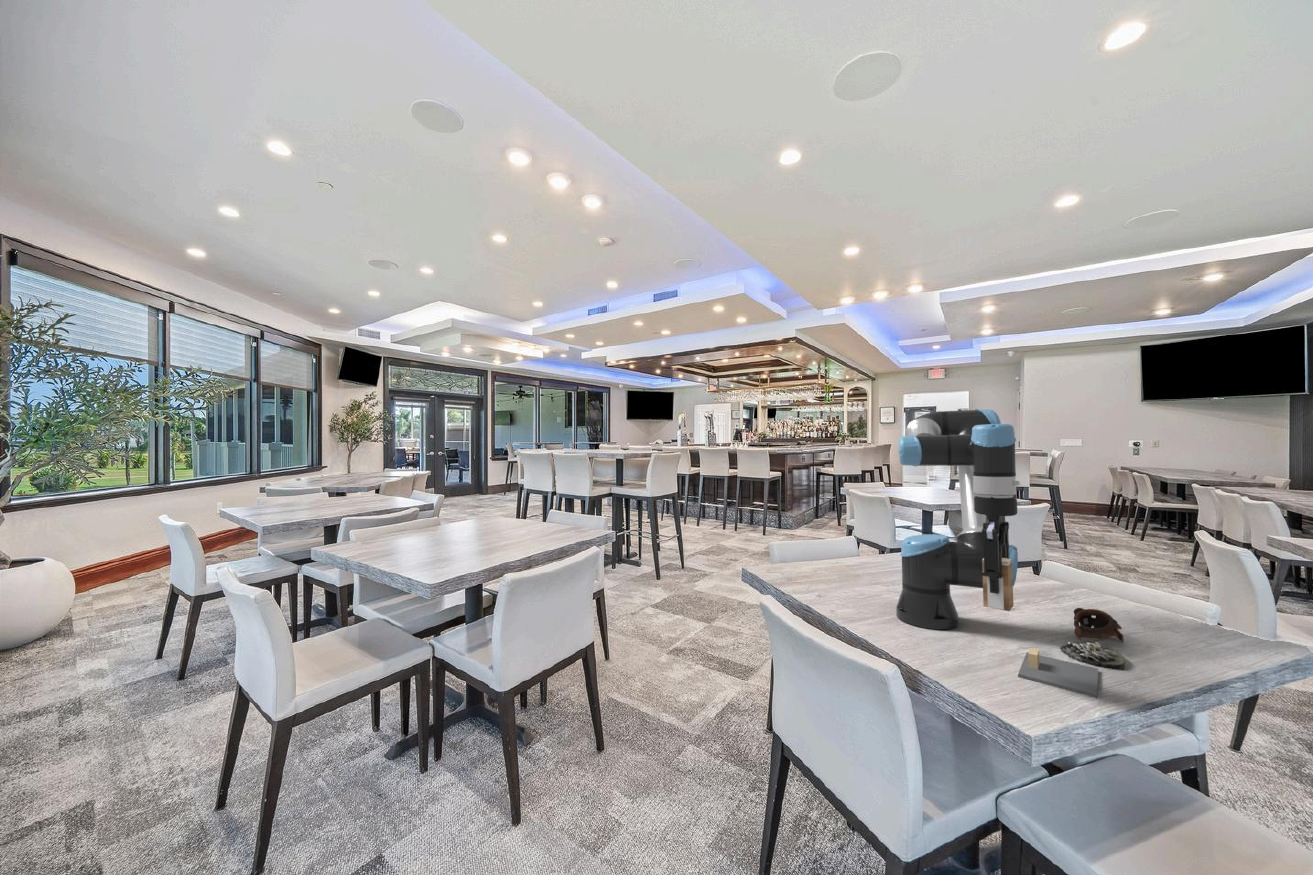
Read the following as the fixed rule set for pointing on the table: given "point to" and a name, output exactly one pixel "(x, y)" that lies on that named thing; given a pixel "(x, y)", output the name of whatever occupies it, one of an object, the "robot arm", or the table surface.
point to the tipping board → (1059, 673)
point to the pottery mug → (1095, 624)
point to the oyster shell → (1095, 655)
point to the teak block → (1007, 584)
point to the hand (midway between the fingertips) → (998, 604)
